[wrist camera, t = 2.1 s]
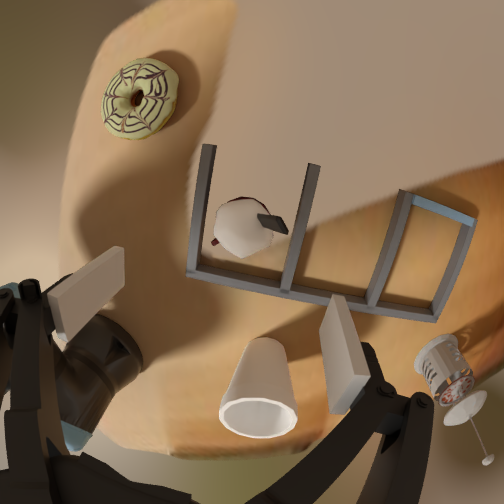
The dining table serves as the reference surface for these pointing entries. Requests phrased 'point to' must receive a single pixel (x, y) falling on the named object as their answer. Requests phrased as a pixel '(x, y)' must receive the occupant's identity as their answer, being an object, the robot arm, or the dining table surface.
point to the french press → (446, 365)
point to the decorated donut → (153, 103)
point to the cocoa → (245, 226)
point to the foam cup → (260, 392)
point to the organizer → (284, 285)
